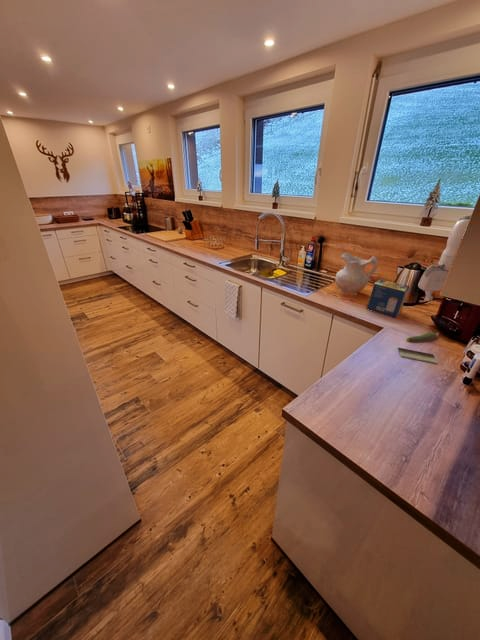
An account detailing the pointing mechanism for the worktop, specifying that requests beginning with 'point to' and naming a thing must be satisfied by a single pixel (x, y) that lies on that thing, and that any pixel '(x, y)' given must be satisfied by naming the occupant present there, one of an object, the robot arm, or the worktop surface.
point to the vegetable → (423, 337)
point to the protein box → (387, 298)
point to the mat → (417, 355)
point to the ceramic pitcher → (354, 274)
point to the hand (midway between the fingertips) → (438, 300)
